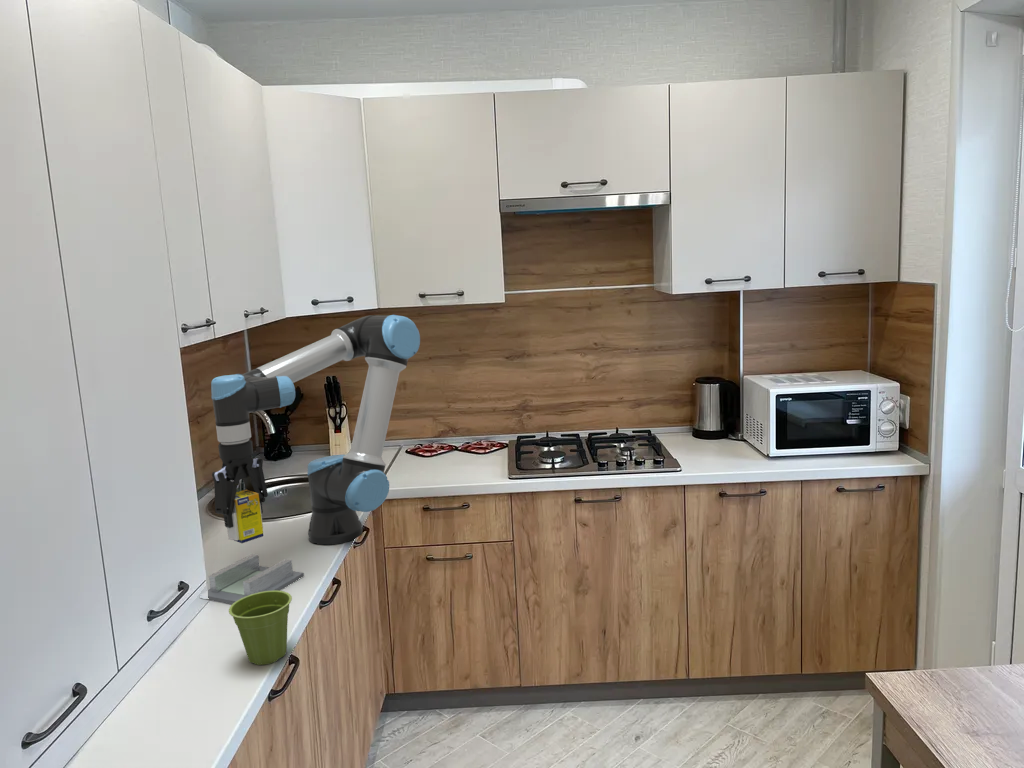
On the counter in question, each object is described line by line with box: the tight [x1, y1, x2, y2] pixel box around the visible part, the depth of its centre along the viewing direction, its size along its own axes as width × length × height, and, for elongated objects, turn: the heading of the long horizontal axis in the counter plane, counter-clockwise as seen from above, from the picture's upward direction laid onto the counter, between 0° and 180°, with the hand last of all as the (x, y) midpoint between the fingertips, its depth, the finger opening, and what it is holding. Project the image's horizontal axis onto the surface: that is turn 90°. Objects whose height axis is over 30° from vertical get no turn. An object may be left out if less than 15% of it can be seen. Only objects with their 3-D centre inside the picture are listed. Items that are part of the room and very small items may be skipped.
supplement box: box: [227, 489, 264, 544], centre depth 178 cm, size 6×6×11 cm
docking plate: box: [207, 553, 305, 606], centre depth 180 cm, size 18×16×5 cm
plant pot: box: [228, 590, 293, 666], centre depth 146 cm, size 12×12×11 cm
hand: (246, 533), depth 179 cm, fingers closed on supplement box, 7 cm apart
